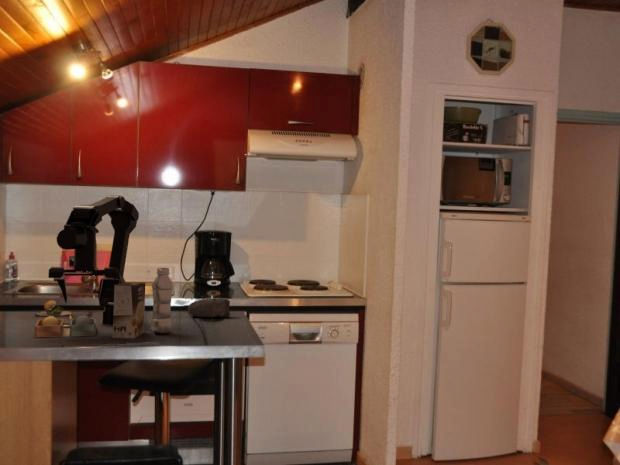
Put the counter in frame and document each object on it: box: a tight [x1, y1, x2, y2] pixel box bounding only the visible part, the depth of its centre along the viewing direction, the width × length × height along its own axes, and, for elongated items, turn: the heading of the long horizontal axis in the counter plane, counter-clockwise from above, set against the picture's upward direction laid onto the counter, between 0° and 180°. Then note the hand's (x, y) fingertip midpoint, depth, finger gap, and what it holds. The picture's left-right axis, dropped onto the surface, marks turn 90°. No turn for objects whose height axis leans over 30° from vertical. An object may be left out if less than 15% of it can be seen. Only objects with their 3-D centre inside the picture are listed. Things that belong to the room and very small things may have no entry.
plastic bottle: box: [150, 267, 174, 335], centre depth 179 cm, size 6×7×20 cm
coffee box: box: [112, 281, 147, 339], centre depth 170 cm, size 9×6×16 cm
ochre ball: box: [42, 316, 58, 326], centre depth 172 cm, size 4×4×4 cm
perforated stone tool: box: [187, 298, 231, 319], centre depth 212 cm, size 15×5×7 cm, turn 92°
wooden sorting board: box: [34, 317, 97, 338], centre depth 174 cm, size 16×20×4 cm
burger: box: [34, 297, 73, 318], centre depth 202 cm, size 12×12×8 cm
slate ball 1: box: [75, 315, 91, 324], centre depth 175 cm, size 4×4×4 cm
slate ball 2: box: [75, 318, 91, 325], centre depth 170 cm, size 4×4×4 cm
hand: (83, 302), depth 170 cm, fingers open, 9 cm apart
